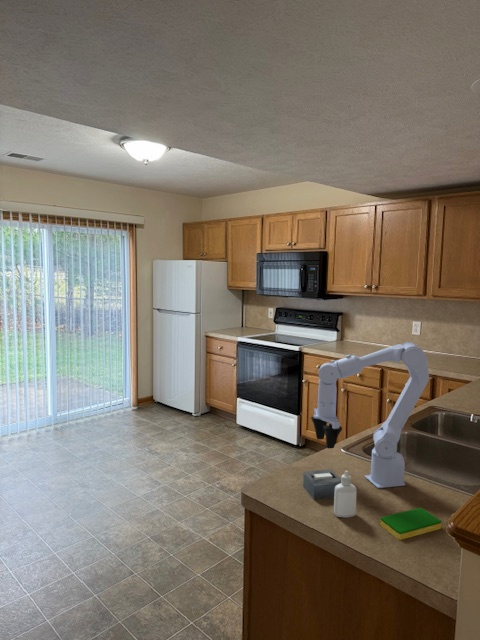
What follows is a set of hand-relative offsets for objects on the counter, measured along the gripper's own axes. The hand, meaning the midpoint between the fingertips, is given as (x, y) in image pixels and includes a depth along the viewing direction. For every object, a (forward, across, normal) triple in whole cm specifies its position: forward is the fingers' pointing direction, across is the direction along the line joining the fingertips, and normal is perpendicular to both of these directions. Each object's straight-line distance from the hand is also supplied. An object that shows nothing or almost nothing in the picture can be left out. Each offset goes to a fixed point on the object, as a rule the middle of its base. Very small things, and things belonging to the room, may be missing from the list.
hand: (325, 443), depth 140 cm
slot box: (+10, +10, -5) cm, 15 cm away
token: (+10, +10, -5) cm, 15 cm away
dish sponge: (+11, +32, +9) cm, 35 cm away
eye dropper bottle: (+11, +23, -5) cm, 26 cm away
